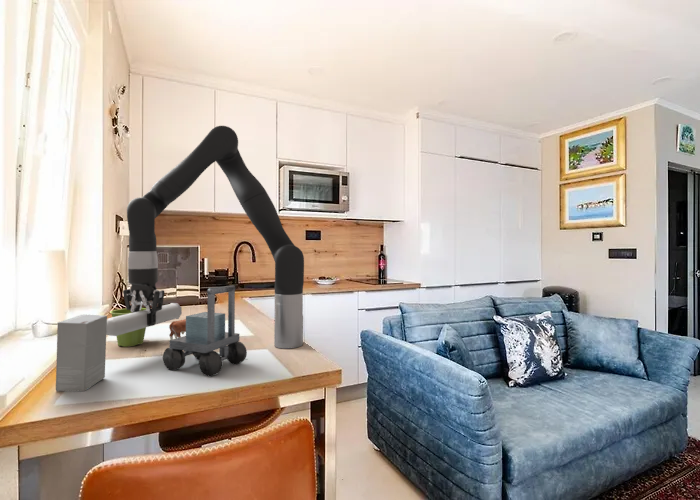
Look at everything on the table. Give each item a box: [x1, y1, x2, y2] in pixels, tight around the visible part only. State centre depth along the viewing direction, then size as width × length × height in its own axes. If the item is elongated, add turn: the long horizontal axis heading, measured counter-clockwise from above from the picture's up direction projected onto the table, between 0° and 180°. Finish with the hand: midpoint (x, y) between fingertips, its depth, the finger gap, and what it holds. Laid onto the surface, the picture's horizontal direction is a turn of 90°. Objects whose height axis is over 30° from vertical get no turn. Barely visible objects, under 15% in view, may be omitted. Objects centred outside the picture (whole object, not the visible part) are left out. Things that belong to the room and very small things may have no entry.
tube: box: [106, 302, 183, 337], centre depth 106 cm, size 5×5×25 cm
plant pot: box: [109, 307, 147, 347], centre depth 120 cm, size 12×12×11 cm
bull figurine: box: [168, 318, 186, 341], centre depth 127 cm, size 4×13×8 cm, turn 148°
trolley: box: [162, 284, 248, 377], centre depth 98 cm, size 13×18×22 cm
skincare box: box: [55, 314, 108, 392], centre depth 84 cm, size 8×7×16 cm
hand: (144, 324), depth 106 cm, fingers closed on tube, 5 cm apart
